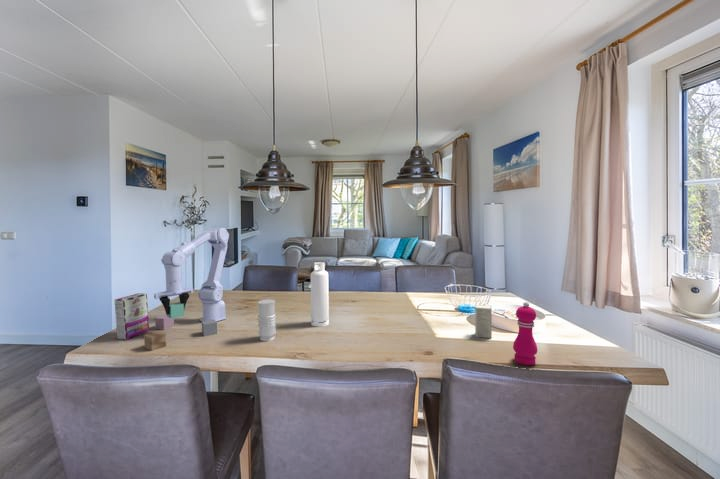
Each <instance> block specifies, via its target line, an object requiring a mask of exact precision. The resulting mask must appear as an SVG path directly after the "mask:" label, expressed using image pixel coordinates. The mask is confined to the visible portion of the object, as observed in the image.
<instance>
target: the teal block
mask: <svg viewBox="0 0 720 479" xmlns="http://www.w3.org/2000/svg"><path fill="white" fill-rule="evenodd" d="M165 315H167V314H166V313H165ZM167 317H169V318H171V319H172V318H174V319H176V318H181V317H185V309H184V304H182V303H180V301H179V302H172V303H170V314H169V315H167Z"/></svg>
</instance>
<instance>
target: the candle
mask: <svg viewBox="0 0 720 479" xmlns="http://www.w3.org/2000/svg"><path fill="white" fill-rule="evenodd" d="M257 304H258V316H257V317H258V319H257V320H258V321H257V322H258V323H257V326H258V336H260V338H259V340H260V341H262V342H270V341H273V340H275V339H276V336H275V335H276V333H277V330H276V325H277V323H276V322H277V314H276V300H275V299H271V298H270V299H261V300H259V301H258V302H257Z"/></svg>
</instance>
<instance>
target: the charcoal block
mask: <svg viewBox="0 0 720 479" xmlns="http://www.w3.org/2000/svg"><path fill="white" fill-rule="evenodd" d="M201 334H202V335H203V337H208V336H214V335H218V321H215V319H214V320H208V321H201Z"/></svg>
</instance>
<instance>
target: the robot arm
mask: <svg viewBox="0 0 720 479" xmlns="http://www.w3.org/2000/svg"><path fill="white" fill-rule="evenodd" d="M229 237H230V234H229V232H228V230H227V229H226V228H224V227H220V228H215V227H207V228H206V229H204V230H202V232H201V233H200V234H198V235H197V236H196V237H195V238H193V239H192V240H191V241H182V242H181V245H179V246H178V247H176V248H175V247H174V248H173V249H172V250H171V251H167V252H165V253H164V254H163V256H162V258H160V259H161V260H160V261H161V264H163V266H164V270H165V289H166V290H165V291H161V292H156V293H154V294H153V298H154V299H155V300H158V299H159V301H160V302H161V305H162V306H163V308H164V311H165V315H166V314H167V315H169V314H170V304H171V298H170V297H173V296H178V298H179V302H180V303H182V304H184V310H185V308H186V305H187V301H188V300H189V298H190V294H194V287H187V288H183V284H182V283H183V282H182V278H183V277H182V265H183V264H184V262H185V260H186V259H187V258H188V257H190V256H191V255H193V254H195V252H196V249H197V248H198V247H200V246H201V245H203V244H205V243H207V242H208V243H209V244H210V245H211V246H212V247H213V248H214V250H213V254H212V259H211V263H210V267H209V272H208V275H207V280H206V281H205V282H203V283H202V285H201V288H200V289H199V291H198V294H197V297H198V299H199V300H200V301H201V303H202V318H200V319H199V321H200V322H202V321H208V320H214V319H215V321H216V322H219V321H224V320H226V319H227V317H226V316H227V315H226V303H225V301H224V300H222V298H223V294H224V292H223V289H224V285H222V284H221V282H220V281H221V277H222V272H223V268H224V263H225V260H226V255H227V251H228V241H229Z"/></svg>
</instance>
